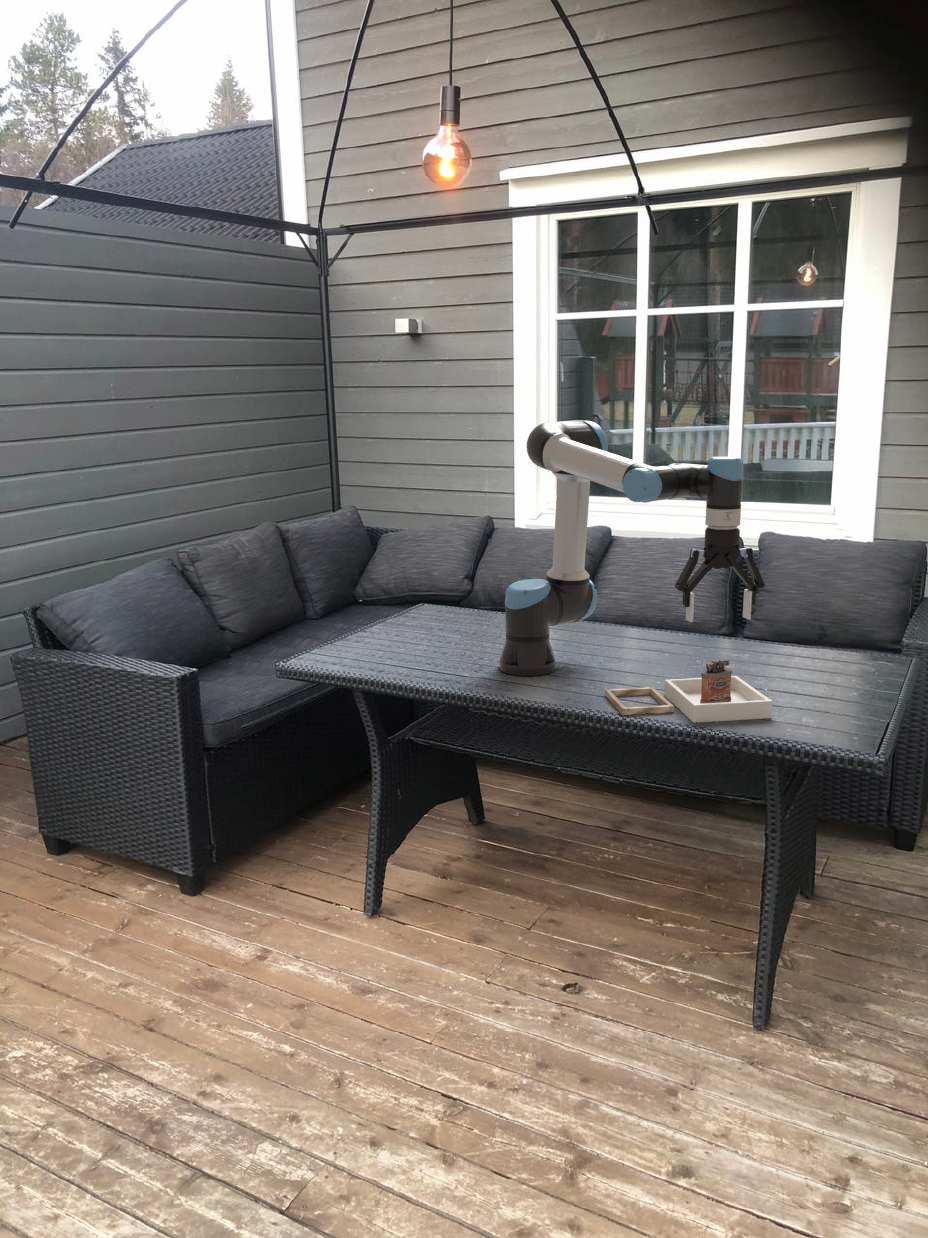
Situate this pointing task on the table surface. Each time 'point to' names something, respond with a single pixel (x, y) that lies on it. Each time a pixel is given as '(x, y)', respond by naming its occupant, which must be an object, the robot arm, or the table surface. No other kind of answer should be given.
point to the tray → (741, 706)
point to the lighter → (716, 682)
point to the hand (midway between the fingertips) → (718, 619)
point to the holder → (664, 707)
